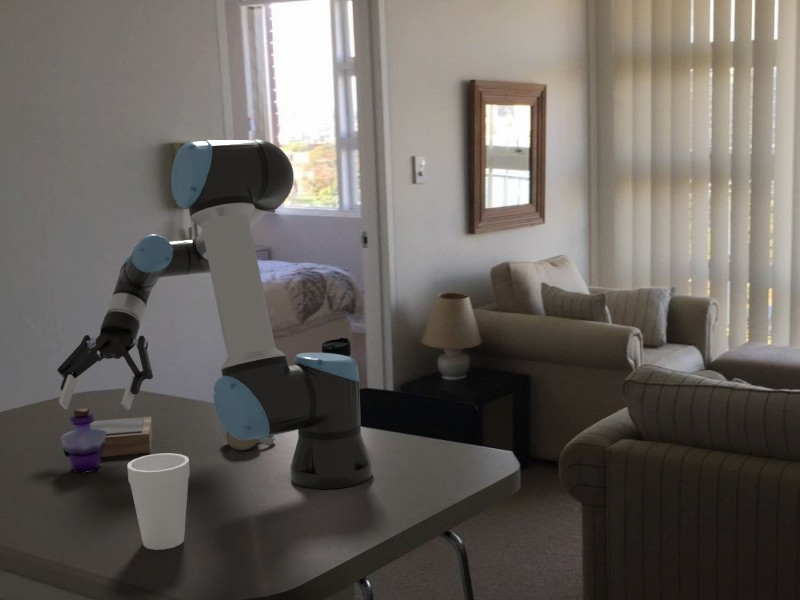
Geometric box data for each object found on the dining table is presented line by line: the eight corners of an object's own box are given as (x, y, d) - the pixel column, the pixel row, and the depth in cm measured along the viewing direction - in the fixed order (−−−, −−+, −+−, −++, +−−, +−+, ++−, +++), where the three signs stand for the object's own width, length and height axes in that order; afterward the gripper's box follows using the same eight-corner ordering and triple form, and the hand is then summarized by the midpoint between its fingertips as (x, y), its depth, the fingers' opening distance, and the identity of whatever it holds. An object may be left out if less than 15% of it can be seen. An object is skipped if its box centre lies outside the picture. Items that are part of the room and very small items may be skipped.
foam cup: (198, 529, 162) (193, 452, 160) (188, 552, 153) (183, 470, 151) (140, 531, 162) (134, 454, 160) (126, 554, 153) (120, 473, 151)
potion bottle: (62, 465, 199) (57, 406, 197) (107, 459, 201) (102, 401, 200) (63, 478, 191) (58, 417, 189) (110, 471, 193) (105, 411, 192)
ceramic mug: (226, 454, 202) (225, 417, 201) (221, 443, 210) (219, 407, 209) (278, 448, 206) (277, 412, 205) (270, 438, 213) (269, 403, 212)
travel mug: (360, 428, 218) (357, 338, 215) (343, 436, 212) (339, 344, 209) (337, 425, 221) (333, 336, 218) (319, 432, 216) (315, 341, 213)
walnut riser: (150, 452, 205) (148, 432, 204) (79, 458, 202) (77, 438, 202) (152, 434, 219) (151, 415, 218) (86, 439, 216) (84, 420, 215)
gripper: (183, 329, 213) (158, 416, 201) (76, 329, 218) (45, 414, 206) (171, 309, 207) (144, 398, 195) (61, 309, 212) (29, 395, 200)
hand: (93, 406), depth 201 cm, fingers open, 13 cm apart
